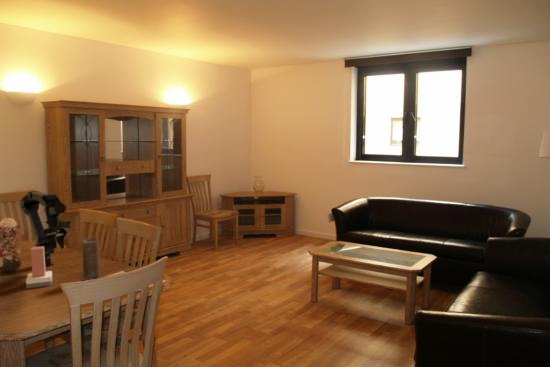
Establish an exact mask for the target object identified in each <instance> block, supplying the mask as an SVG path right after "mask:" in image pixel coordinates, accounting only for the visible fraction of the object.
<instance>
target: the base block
mask: <svg viewBox="0 0 550 367" xmlns="http://www.w3.org/2000/svg"><path fill="white" fill-rule="evenodd" d="M25 280H26V281H25V282H26V283H25V284H26V289H33V288H42V287H49V286H52V284H53V270H46V274H45V276H42V277H33V276H32V272H30V273H27V277H26V279H25Z"/></svg>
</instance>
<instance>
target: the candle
mask: <svg viewBox="0 0 550 367" xmlns="http://www.w3.org/2000/svg"><path fill="white" fill-rule="evenodd" d="M99 244H100V243H99V238H97V237H88V238H85V239H83V240H82V243H81V245H82V280H83V281H86V280H90V279H96V280H98V279H97V278H99V279H100V276H101V275H100V274H101V273H100V271H101V268H100V245H99Z"/></svg>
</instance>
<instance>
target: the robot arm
mask: <svg viewBox="0 0 550 367" xmlns="http://www.w3.org/2000/svg"><path fill="white" fill-rule="evenodd" d="M40 205H41V206H42V207H44V209H43V212H44V214H45V218H46V221H45V224H46V225H47V228H44V225H43V222H42V220H41V218H40V215H39V212H38V211H39V209H40V208H39V207H40ZM19 206H20V209H21V210H22V212H23V213H24V214H25V215H26V216H28V219H29V222H30V224H31V226H32V229H33V230H32V231H33V233H34V236H35V238H36V239H35V242H34V245H35V246H34V247H40V246H44V252H45V268H47V267H50V266H53V265H54V262H53V263H52V258H51V254H54V253H55V249H58V246H59V247H60V249H61V250H64V249H65V240H66V237H67V236H68V235H69V234H70V233H69V229H71V230H72V229H73V227H74V225H75V224H74V222H73V221H72V220H67V221H63V220H62V219H60V215H63V213H65V212H66V210H67V206H66V205H65V203H63V202H62V200H60V198H59V197H58V195H57V194H56V193H49V194H48V193H47V194H46V193H43V192H40V191H37V190H32V191H27V193H26V195H24V197H22V198H21V200H20V202H19Z"/></svg>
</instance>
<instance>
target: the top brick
mask: <svg viewBox="0 0 550 367" xmlns="http://www.w3.org/2000/svg"><path fill="white" fill-rule="evenodd" d="M30 257H31V273H32V276H33V277H42V276H45V274H46V271H47V270H46V268H47V267H45V252H44V246H40V247H35V246H32V247H31V248H30Z"/></svg>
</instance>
